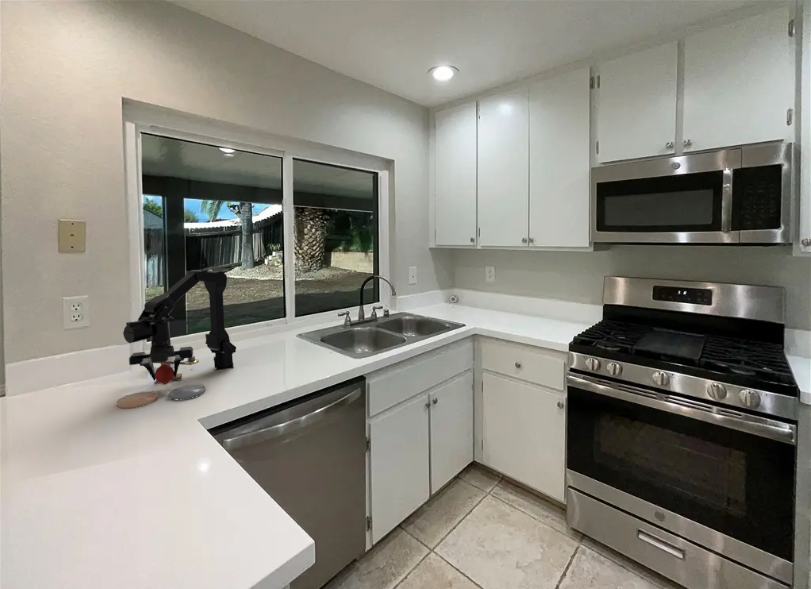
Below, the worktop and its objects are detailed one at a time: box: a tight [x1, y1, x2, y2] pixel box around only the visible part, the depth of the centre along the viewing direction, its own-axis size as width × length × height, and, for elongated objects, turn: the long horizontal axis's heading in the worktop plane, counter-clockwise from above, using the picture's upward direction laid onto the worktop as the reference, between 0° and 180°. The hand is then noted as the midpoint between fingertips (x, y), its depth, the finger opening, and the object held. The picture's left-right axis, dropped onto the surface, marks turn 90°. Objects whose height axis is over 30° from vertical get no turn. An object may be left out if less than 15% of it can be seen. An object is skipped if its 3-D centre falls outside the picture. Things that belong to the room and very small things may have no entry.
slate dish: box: [168, 383, 207, 401], centre depth 134 cm, size 11×11×1 cm
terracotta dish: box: [116, 390, 158, 410], centre depth 128 cm, size 11×11×1 cm
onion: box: [155, 363, 174, 385], centre depth 139 cm, size 6×6×8 cm
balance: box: [155, 355, 200, 384], centre depth 147 cm, size 21×5×9 cm, turn 114°
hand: (165, 378), depth 139 cm, fingers closed on onion, 6 cm apart
